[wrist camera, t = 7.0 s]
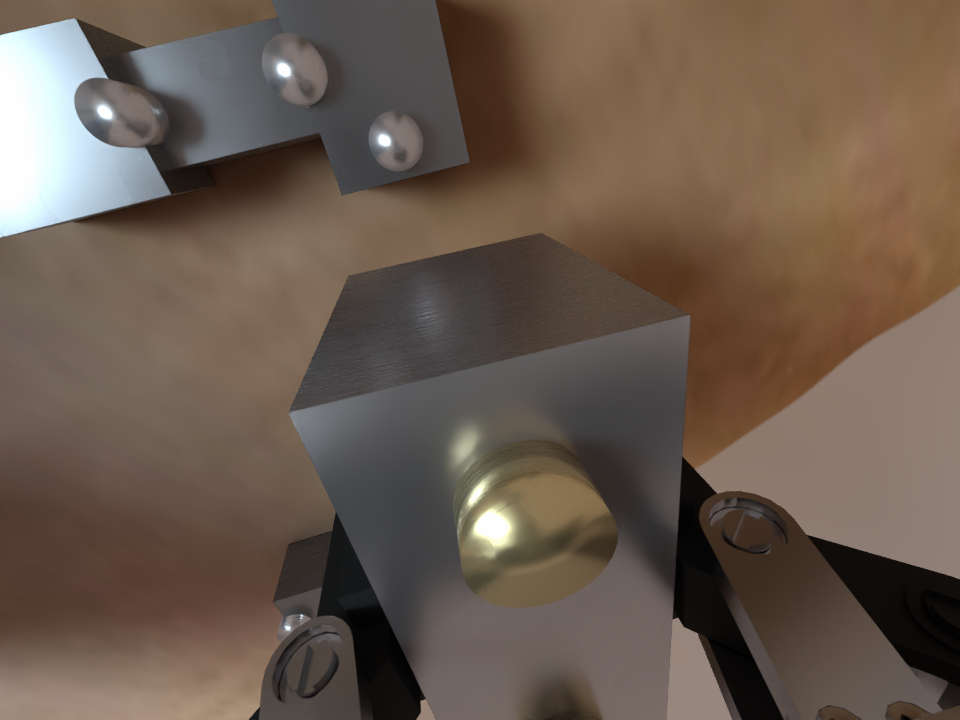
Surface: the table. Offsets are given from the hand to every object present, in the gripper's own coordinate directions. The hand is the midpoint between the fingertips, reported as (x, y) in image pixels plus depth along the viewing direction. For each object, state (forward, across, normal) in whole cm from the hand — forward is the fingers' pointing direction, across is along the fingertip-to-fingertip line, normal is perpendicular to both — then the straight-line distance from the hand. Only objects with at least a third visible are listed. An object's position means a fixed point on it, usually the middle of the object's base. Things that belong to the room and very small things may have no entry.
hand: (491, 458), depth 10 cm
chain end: (+6, +4, -8) cm, 11 cm away
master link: (+1, 0, 0) cm, 1 cm away
